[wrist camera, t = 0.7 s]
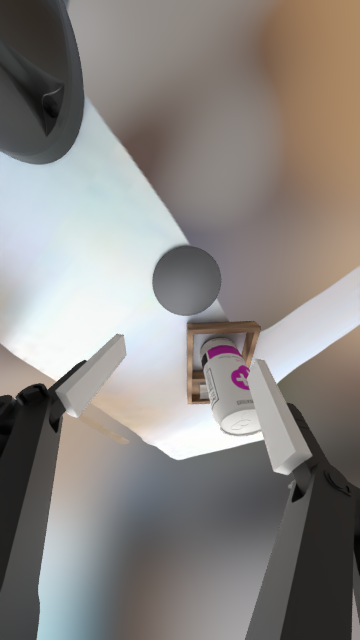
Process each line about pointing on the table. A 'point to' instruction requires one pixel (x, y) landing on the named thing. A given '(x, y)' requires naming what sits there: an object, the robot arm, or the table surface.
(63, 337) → the table surface
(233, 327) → the parts tray
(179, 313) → the coaster
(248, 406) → the supplement can
